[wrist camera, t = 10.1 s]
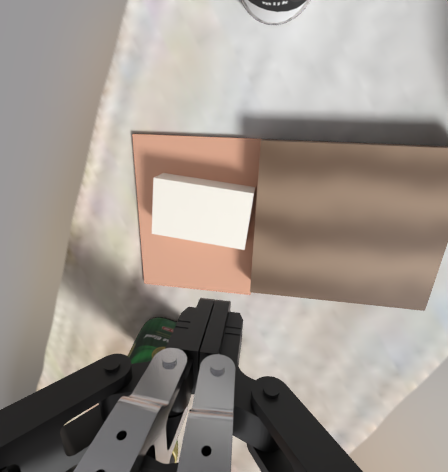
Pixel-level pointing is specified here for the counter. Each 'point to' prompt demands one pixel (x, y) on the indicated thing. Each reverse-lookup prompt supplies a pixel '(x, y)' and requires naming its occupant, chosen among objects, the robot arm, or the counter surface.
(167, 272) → the terracotta mat
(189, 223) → the cream block
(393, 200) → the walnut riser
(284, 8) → the mug
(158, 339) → the coffee jar
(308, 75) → the counter surface
